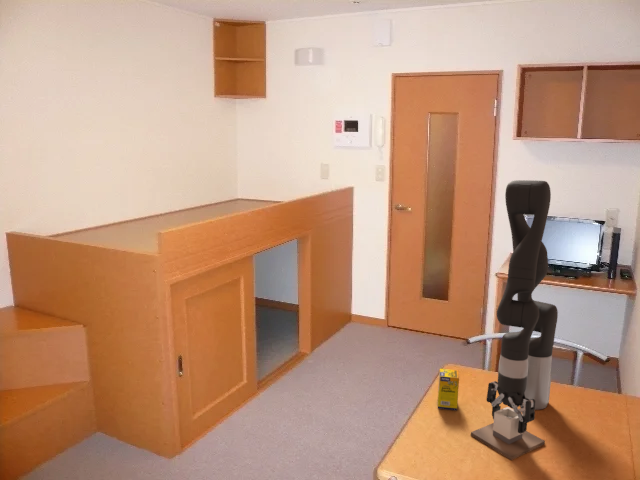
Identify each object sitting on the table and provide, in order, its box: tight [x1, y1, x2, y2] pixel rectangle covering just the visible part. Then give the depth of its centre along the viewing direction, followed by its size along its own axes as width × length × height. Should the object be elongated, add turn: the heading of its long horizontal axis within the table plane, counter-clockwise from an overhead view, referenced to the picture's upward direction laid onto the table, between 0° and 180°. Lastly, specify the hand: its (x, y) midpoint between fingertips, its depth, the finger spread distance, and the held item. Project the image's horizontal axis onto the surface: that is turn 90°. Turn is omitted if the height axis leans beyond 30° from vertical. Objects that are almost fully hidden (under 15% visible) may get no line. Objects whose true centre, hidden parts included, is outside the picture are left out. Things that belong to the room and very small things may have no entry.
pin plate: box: [470, 416, 546, 461], centre depth 155 cm, size 14×14×6 cm
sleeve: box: [493, 406, 523, 444], centre depth 155 cm, size 6×6×7 cm
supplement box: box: [437, 368, 460, 412], centre depth 174 cm, size 6×6×11 cm
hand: (508, 425), depth 155 cm, fingers open, 8 cm apart
